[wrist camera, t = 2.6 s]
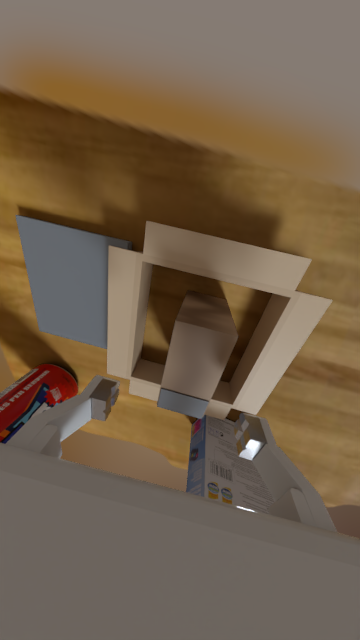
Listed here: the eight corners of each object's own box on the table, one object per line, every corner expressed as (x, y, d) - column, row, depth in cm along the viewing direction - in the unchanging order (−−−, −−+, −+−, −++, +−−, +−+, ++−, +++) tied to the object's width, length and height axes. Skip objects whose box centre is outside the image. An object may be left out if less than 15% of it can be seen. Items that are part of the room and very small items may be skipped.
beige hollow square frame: (323, 263, 15) (353, 269, 12) (242, 403, 24) (247, 426, 21) (127, 217, 16) (109, 211, 13) (119, 369, 25) (106, 386, 22)
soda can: (40, 352, 26) (-133, 466, 13) (85, 373, 27) (-36, 505, 13) (37, 382, 30) (-102, 497, 16) (77, 400, 30) (-25, 526, 17)
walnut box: (226, 299, 18) (238, 337, 11) (204, 361, 22) (202, 419, 15) (187, 289, 18) (175, 320, 11) (172, 353, 22) (156, 406, 15)
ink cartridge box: (189, 425, 29) (175, 578, 16) (204, 407, 26) (201, 570, 13) (240, 447, 29) (267, 612, 16) (259, 431, 27) (309, 611, 14)
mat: (132, 242, 17) (128, 242, 16) (124, 348, 23) (121, 353, 22) (25, 216, 18) (15, 214, 17) (45, 327, 24) (39, 330, 23)
